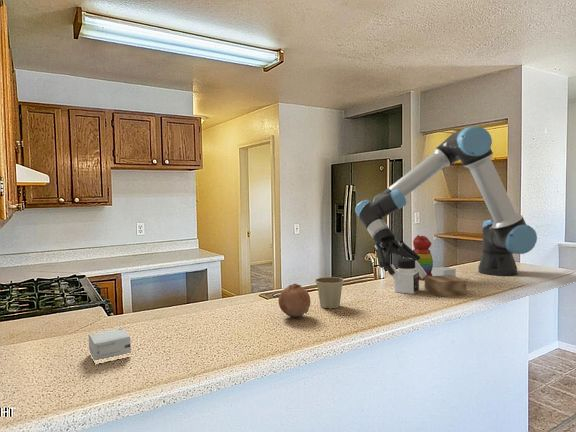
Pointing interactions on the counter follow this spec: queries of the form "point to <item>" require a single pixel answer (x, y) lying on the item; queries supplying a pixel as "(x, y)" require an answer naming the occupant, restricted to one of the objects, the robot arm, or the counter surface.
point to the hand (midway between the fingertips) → (412, 279)
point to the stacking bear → (423, 254)
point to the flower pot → (329, 291)
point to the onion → (294, 301)
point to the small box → (109, 344)
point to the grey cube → (443, 271)
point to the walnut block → (445, 285)
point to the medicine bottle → (407, 277)
